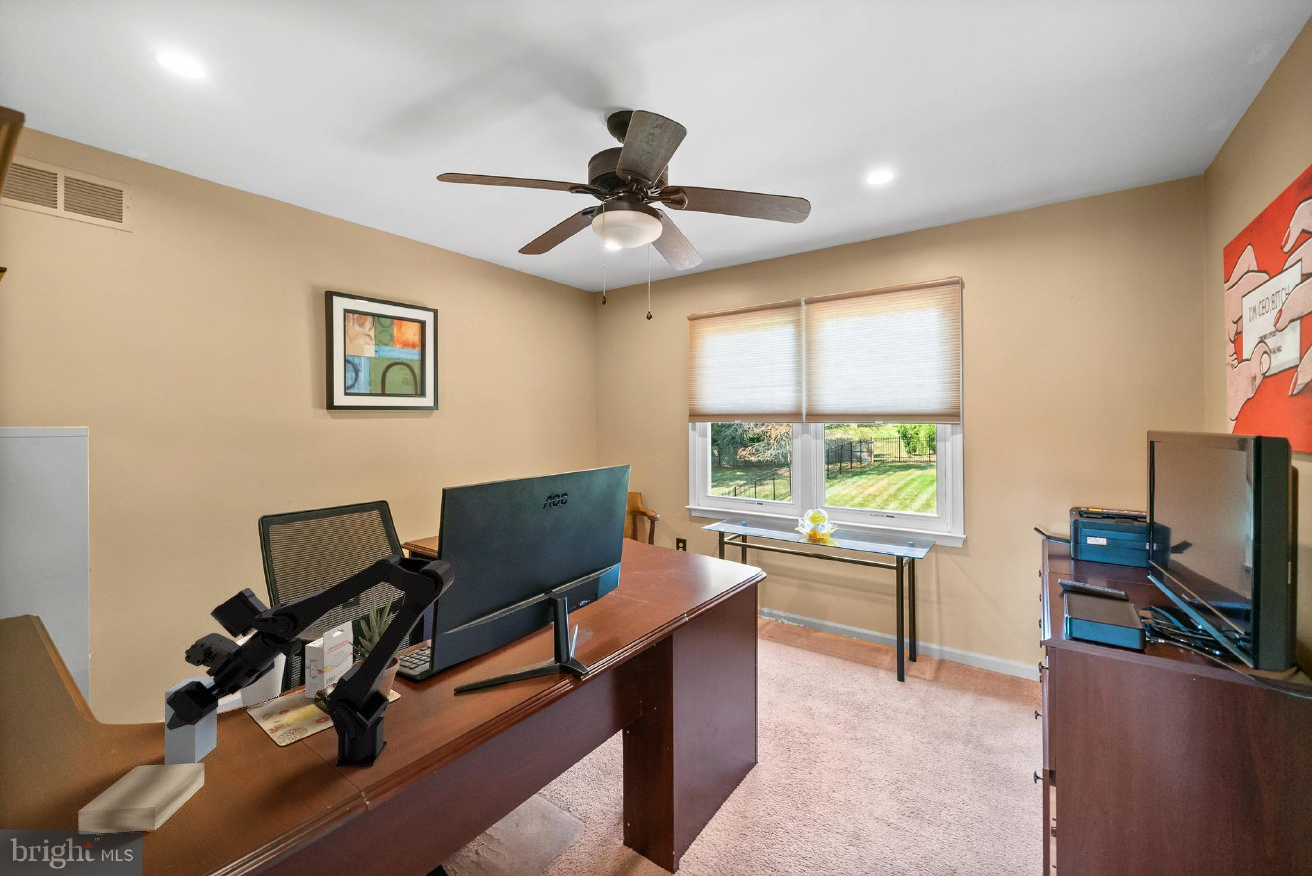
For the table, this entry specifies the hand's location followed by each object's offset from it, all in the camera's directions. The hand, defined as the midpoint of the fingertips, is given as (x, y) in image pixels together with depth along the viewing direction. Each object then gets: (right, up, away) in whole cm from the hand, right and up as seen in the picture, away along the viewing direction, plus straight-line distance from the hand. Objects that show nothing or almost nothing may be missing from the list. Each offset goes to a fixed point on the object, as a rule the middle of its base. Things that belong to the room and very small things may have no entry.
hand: (191, 712), depth 94 cm
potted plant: (+21, -8, +22) cm, 32 cm away
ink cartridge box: (+10, -8, +24) cm, 27 cm away
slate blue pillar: (0, -8, 0) cm, 8 cm away
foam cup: (-2, -7, +19) cm, 21 cm away
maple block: (+4, -9, -12) cm, 16 cm away
